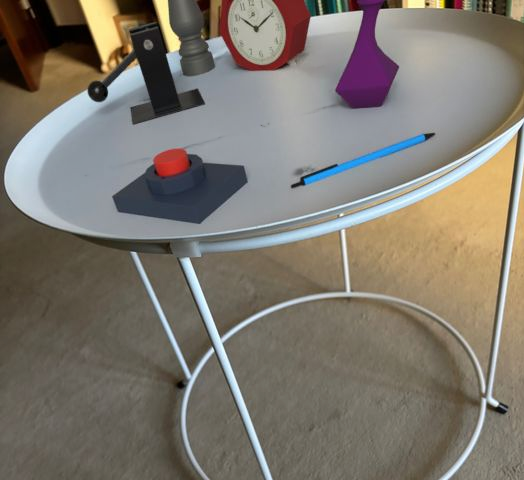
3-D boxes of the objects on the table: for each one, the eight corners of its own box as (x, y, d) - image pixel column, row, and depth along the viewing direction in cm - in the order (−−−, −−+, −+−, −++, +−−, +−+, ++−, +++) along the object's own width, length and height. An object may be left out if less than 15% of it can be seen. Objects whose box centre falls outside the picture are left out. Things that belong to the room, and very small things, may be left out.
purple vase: (400, 89, 84) (393, -60, 73) (391, 110, 79) (382, -47, 68) (349, 94, 87) (334, -49, 76) (337, 114, 82) (320, -36, 71)
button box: (117, 212, 72) (105, 182, 70) (168, 175, 78) (158, 145, 76) (199, 224, 66) (189, 191, 63) (248, 182, 71) (240, 150, 69)
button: (150, 176, 69) (145, 162, 68) (171, 161, 72) (167, 147, 71) (176, 179, 67) (171, 164, 66) (196, 163, 70) (192, 149, 69)
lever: (98, 109, 94) (82, 93, 92) (98, 103, 96) (83, 88, 94) (161, 45, 90) (146, 27, 88) (160, 41, 93) (145, 23, 91)
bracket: (134, 130, 94) (105, 45, 86) (132, 114, 101) (104, 33, 93) (206, 110, 95) (184, 23, 87) (199, 95, 102) (178, 13, 93)
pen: (290, 188, 68) (289, 179, 67) (433, 135, 71) (433, 126, 70) (293, 191, 67) (292, 182, 67) (438, 137, 70) (437, 128, 70)
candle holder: (178, 82, 110) (133, -79, 94) (193, 71, 114) (152, -86, 98) (207, 80, 107) (166, -87, 91) (221, 68, 112) (184, -94, 96)
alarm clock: (228, 77, 106) (199, -54, 93) (254, 60, 111) (229, -66, 98) (299, 76, 98) (278, -68, 86) (323, 58, 103) (306, -80, 91)
